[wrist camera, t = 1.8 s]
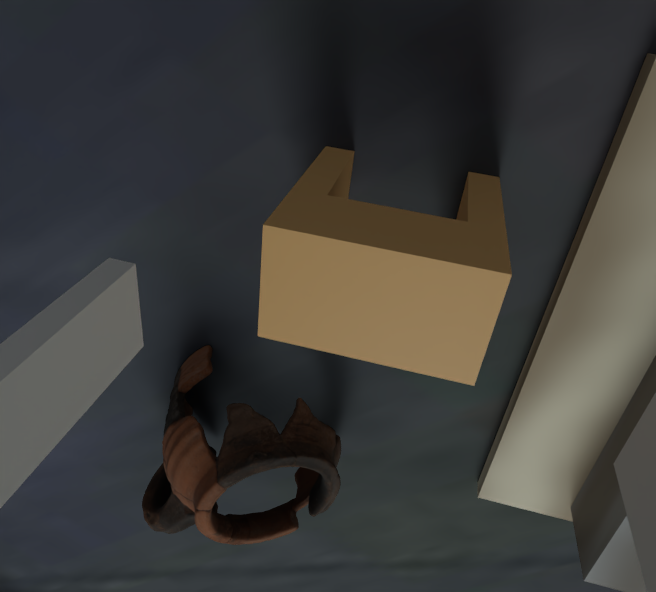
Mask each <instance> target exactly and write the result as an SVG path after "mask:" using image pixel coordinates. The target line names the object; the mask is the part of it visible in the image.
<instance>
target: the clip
mask: <svg viewBox="0 0 656 592" xmlns="http://www.w3.org/2000/svg"><path fill="white" fill-rule="evenodd" d="M354 152H355V151H350V150H345V149H339V148H333V147H328V146H326V147H325V148H324V149H323V150H322V152H321V153H320V154H319V155H318V157H317V158H316V159H315V160H314V162H313V163H312V164H311V165H310V167H309V168H308V169H307V170H306V172H305V173H304V174H303V175H302V177H301V178H300V179H299V180H298V182H297V183H296V184H295V185H294V187H293V188H292V189H291V190H290V192H289V193H288V194H287V195H286V197H285V198H284V199H283V200H282V202H281V203H280V204H279V205H278V207H277V208H276V209H275V210H274V212H273V213H272V214H271V215H270V217H269V218H268V219H267V220H266V222H265V223H264V224H263V237H262V258H261V278H260V299H259V320H258V336H259V337H263V338H268V339H272V340H276V341H281V342H285V343H289V344H294V345H298V346H303V347H307V348H311V349H316V350H320V351H324V352H329V353H333V354H337V355H342V356H346V357H351V358H355V359H359V360H364V361H368V362H372V363H377V364H381V365H385V366H390V367H394V368H398V369H403V370H407V371H412V372H416V373H420V374H425V375H429V376H433V377H438V378H442V379H446V380H451V381H455V382H460V383H464V384H468V385H473V386H474V385H475V382H476V379H477V376H478V373H479V370H480V367H481V364H482V361H483V358H484V355H485V352H486V349H487V346H488V343H489V340H490V337H491V335H492V332H493V329H494V326H495V323H496V320H497V317H498V314H499V311H500V308H501V305H502V302H503V299H504V296H505V293H506V290H507V287H508V285H509V282H510V279H511V276H512V272H511V265H510V257H509V249H508V241H507V233H506V225H505V218H504V210H503V202H502V194H501V186H500V179H499V177H496V176H490V175H484V174H479V173H473V172H468V176H467V180H466V183H465V187H464V191H463V195H462V199H461V203H460V207H459V210H458V214H457V218H456V220H455V219H450V218H444V217H439V216H434V215H429V214H423V213H418V212H413V211H408V210H402V209H397V208H392V207H387V206H381V205H376V204H371V203H366V202H360V201H355V200H350V199H348V196H349V188H350V181H351V174H352V166H353V159H354Z"/></svg>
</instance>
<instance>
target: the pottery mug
mask: <svg viewBox="0 0 656 592" xmlns="http://www.w3.org/2000/svg"><path fill="white" fill-rule="evenodd" d="M211 356H212V347H211V346H210V345H207V346H204V347H203V348H201V349H199V350H197V351H196V352H195V353H193V354H192V355H191V356H190V357H189V358H188V359H187V360H186V361H185V362H184V363H183V365H182V366H181V367H180V368H179V370H178V372H177V375H176V377H175V381H174V387H173V390H172V392H171V396H170V405H169V409H168V414H167V416H166V424H165V429H164V438H163V443H162V444H163V457H164V459H163V464H162V465H161V466H160V468H159V469H158V470H157V472H156V473H155V474H154V476H153V478H152V479H151V481H150V483H149V485H148V487H147V489H146V491H145V494H144V497H143V501H142V508H143V512H144V518H145V521H146V522H147V523H148V525H149V526H150V528H151V529H153V530H154V531H161V532H165V533H168V534H172V533H177V532H179V531H182V530H184V529H186V528H188V527H190V526H192V525H194V524H196V526H197V528H198V530H199V531H200V532H201V533H203V534H204V535H205V536H206V537H208V538H210V539H212V540H214V541H217V542H220V543H227V544H232V545H236V544H237V545H240V544H252V543H259V542H263V541H266V540H271V539H275V538H278V537H281V536H284V535H286V534H289V533H291V532H293V531H295V530H297V529H298V527H299V526H298V519H297V517H296V512H297V511H298V510H300V509H301V508H303V507H305V506H306V505H307V504H308V503H309V506H308V508H309V514H310V515H311V516H316V515H318V514H320V513H322V512H324V511H326V510H327V509H328V508H329V506H330V505H331V504H332V503H333V501H334V500H335V497H336V496H337V494H338V492H339V489H340V485H341V484H340V476H339V474H338V471H337V469H336V467H337V464H338V462H339V458H340V454H341V441H340V437H339V436H338V435H336V433H335V431H334V430H333V429H332V428H331V427H330V426H328V425H326V424H324V423H322V422H320V421H319V420H318V419H317V418H316V417H315V416H314V415H313V414H312V413H311V410H310V408H309V407H308V406H307V404H306V403H305V402H304V401H303V400H302V399H301V398H298V399H297V402H296V408H295V410H294V413H293V415H292V416H291V417H290V419H289V421H288V423H287V424H286V426H285V428H284V430H283V431H282V433H281V434H279V433H278V431H277V429H276V427H275V425H274V424H273V423H272V422H271V421H270V420H269V419H267V418H266V417H264V416H262V415H260V414H259V413H257V412H255V411H254V410H253V408H252V407H251V406H249V405H248V404H244V403H233V404H230V405H228V406H227V414H228V422H229V425H228V426H227V428H226V431H225V434H224V439H223V444H222V447H221V450H220V453H219V456H218V457H216V451H215V450H214V449H213V448H212V447H210V446H209V445H208V443H207V440H206V437H205V434H204V430H203V428H202V426H201V425H200V423H198V422H197V420H196V419H195V417H193V416H191V415H192V412H193V409H192V407H191V406H190V405H189V403H188V402H187V401H186V399H185V394H186V393H187V392H188V391H189V390H190V389H191V388H192V387H193V386H194V385H196V384H197V383H198V382H200V381H201V380H202V379H204V378H205V377H207V376H208V375H210V374H211V373H212V370H213V369H212V364H211V361H210V359H211ZM289 466H291V467H300V468H299V469H298V470H297V472H296V473H295V481H296V484H297V487H298V489H297V494H296V498H295V499H292V500H290V501H289V502H287V503H285V504H282V505H280V506H278V507H275V508H273V509H270V510H268V511H264V512H258V513H250V514H244V515H233V514H228V515H225V516H224V515H221V514H219V513H217V509H218V505H217V502H216V501H217V499H218V498H219V497H220V496H221V495H222V494H223V493H224V492H225V491H226V489H227V488H228V487H231V486H232V485H234V484H236V483H238V482H239V481H241V480H243V479H244V478H246V477H249V476H251V475H253V474H257V473H259V472H263V471H267V470H270V469H274V468H280V467H289Z"/></svg>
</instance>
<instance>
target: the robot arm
mask: <svg viewBox="0 0 656 592" xmlns="http://www.w3.org/2000/svg"><path fill="white" fill-rule="evenodd" d="M143 346H144V344H143V334H142V324H141V314H140V304H139V294H138V284H137V274H136V264H134V263H129V262H125V261H120V260H116V259H112V258H108V259H107V260H106V261H105V262H103V263H102V264H101V265H100V266H98V267H97V268H96V269H94V270H93V271H92V272H91V273H89V274H88V275H87V276H86V277H84V278H83V279H82V280H81V281H79V282H78V283H77V284H76V285H74V286H73V287H72V288H71V289H69V290H68V291H67V292H65V293H64V294H63V295H62V296H60V297H59V298H58V299H57V300H55V301H54V302H53V303H52V304H50V305H49V306H48V307H47V308H45V309H44V310H43V311H42V312H40V313H39V314H38V315H36V316H35V317H34V318H33V319H31V320H30V321H29V322H28V323H26V324H25V325H24V326H23V327H21V328H20V329H19V330H18V331H16V332H15V333H14V334H13V335H11V336H10V337H9V338H7V339H6V340H5V341H4V342H2V343H1V344H0V508H1V507H2V506H3V505H4V504H5V503H6V501H7V500H8V499H9V498H10V497H11V496H12V495H13V493H14V492H15V491H16V490H17V489H18V488H19V487H20V486H21V484H22V483H23V482H24V481H25V480H26V479H27V478H28V476H29V475H30V474H31V473H32V472H33V471H34V470H35V469H36V467H37V466H38V465H39V464H40V463H41V462H42V461H43V459H44V458H45V457H46V456H47V455H48V454H49V453H50V452H51V450H52V449H53V448H54V447H55V446H56V445H57V444H58V442H59V441H60V440H61V439H62V438H63V437H64V436H65V435H66V433H67V432H68V431H69V430H70V429H71V428H72V427H73V425H74V424H75V423H76V422H77V421H78V420H79V419H80V418H81V416H82V415H83V414H84V413H85V412H86V411H87V410H88V408H89V407H90V406H91V405H92V404H93V403H94V402H95V401H96V399H97V398H98V397H99V396H100V395H101V394H102V393H103V391H104V390H105V389H106V388H107V387H108V386H109V385H110V384H111V382H112V381H113V380H114V379H115V378H116V377H117V376H118V374H119V373H120V372H121V371H122V370H123V369H124V368H125V367H126V365H127V364H128V363H129V362H130V361H131V360H132V359H133V357H134V356H135V355H136V354H137V353H138V352H139V351H140V350H141V348H142V347H143ZM614 468H615V472H616V475H617V479H618V483H619V487H620V491H621V495H622V499H623V502H624V506H625V510H626V514H627V518H628V522H629V526H630V529H631V533H632V537H633V541H634V545H635V549H636V553H637V556H638V560H639V564H640V568H641V572H642V576H643V580H644V583H645V587H646V591H647V592H656V393H655V394H654V396H653V398H652V399H651V401H650V403H649V404H648V406H647V408H646V410H645V411H644V413H643V415H642V416H641V418H640V420H639V421H638V423H637V425H636V426H635V428H634V430H633V432H632V433H631V435H630V437H629V438H628V440H627V442H626V443H625V445H624V447H623V448H622V450H621V452H620V453H619V455H618V457H617V459H616V460H615V462H614Z"/></svg>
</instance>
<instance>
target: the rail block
mask: <svg viewBox="0 0 656 592" xmlns="http://www.w3.org/2000/svg"><path fill="white" fill-rule="evenodd" d="M655 393H656V54H650V53H647V56H646V58H645V61H644V63H643V66H642V68H641V71H640V73H639V76H638V78H637V81H636V83H635V86H634V88H633V91H632V93H631V96H630V98H629V101H628V104H627V106H626V109H625V111H624V114H623V116H622V119H621V121H620V124H619V126H618V129H617V131H616V134H615V136H614V139H613V141H612V144H611V147H610V149H609V152H608V154H607V157H606V159H605V162H604V164H603V167H602V169H601V172H600V174H599V177H598V179H597V182H596V184H595V187H594V190H593V192H592V195H591V197H590V200H589V202H588V205H587V207H586V210H585V212H584V215H583V217H582V220H581V222H580V225H579V227H578V230H577V232H576V235H575V238H574V240H573V243H572V245H571V248H570V250H569V253H568V255H567V258H566V260H565V263H564V265H563V268H562V270H561V273H560V275H559V278H558V281H557V283H556V286H555V288H554V291H553V293H552V296H551V298H550V301H549V303H548V306H547V308H546V311H545V313H544V316H543V318H542V321H541V324H540V326H539V329H538V331H537V334H536V336H535V339H534V341H533V344H532V346H531V349H530V351H529V354H528V356H527V359H526V361H525V364H524V366H523V369H522V372H521V374H520V377H519V379H518V382H517V384H516V387H515V389H514V392H513V394H512V397H511V399H510V402H509V404H508V407H507V409H506V412H505V415H504V417H503V420H502V422H501V425H500V427H499V430H498V432H497V435H496V437H495V440H494V442H493V445H492V447H491V450H490V452H489V455H488V457H487V460H486V463H485V465H484V468H483V470H482V473H481V475H480V478H479V480H478V498H482V499H486V500H490V501H494V502H498V503H502V504H506V505H510V506H514V507H518V508H522V509H525V510H529V511H533V512H537V513H541V514H545V515H549V516H553V517H557V518H561V519H565V520H569V521H572V522H573V524H574V530H575V535H576V541H577V546H578V552H579V557H580V563H581V568H582V574H583V579H584V581H586V582H590V583H594V584H598V585H601V586H605V587H609V588H612V589H616V590H620V591H624V592H647V591H646V587H645V583H644V580H643V576H642V572H641V568H640V564H639V560H638V556H637V553H636V549H635V545H634V541H633V537H632V533H631V529H630V526H629V522H628V518H627V514H626V510H625V506H624V502H623V499H622V495H621V491H620V487H619V483H618V479H617V475H616V472H615V468H614V462H615V460H616V459H617V457H618V455H619V453H620V452H621V450H622V448H623V447H624V445H625V443H626V442H627V440H628V438H629V437H630V435H631V433H632V432H633V430H634V428H635V426H636V425H637V423H638V421H639V420H640V418H641V416H642V415H643V413H644V411H645V410H646V408H647V406H648V404H649V403H650V401H651V399H652V398H653V396H654V394H655Z"/></svg>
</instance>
